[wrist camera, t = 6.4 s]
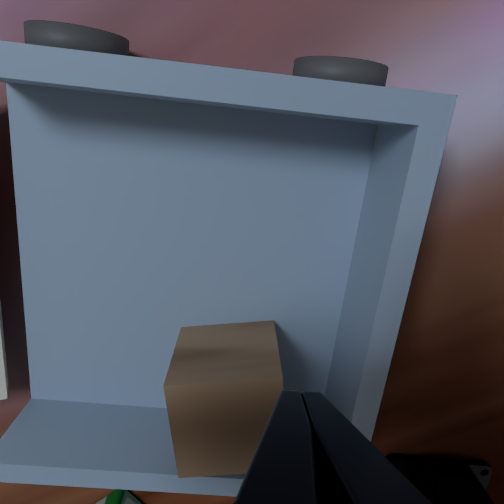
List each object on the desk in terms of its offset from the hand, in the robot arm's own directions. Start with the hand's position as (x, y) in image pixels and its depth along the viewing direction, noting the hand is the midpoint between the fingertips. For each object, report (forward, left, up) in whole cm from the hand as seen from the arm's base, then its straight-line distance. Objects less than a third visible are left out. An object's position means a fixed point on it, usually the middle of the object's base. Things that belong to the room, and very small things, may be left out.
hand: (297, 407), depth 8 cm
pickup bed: (-1, +3, -12) cm, 12 cm away
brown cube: (-6, +1, -10) cm, 12 cm away
